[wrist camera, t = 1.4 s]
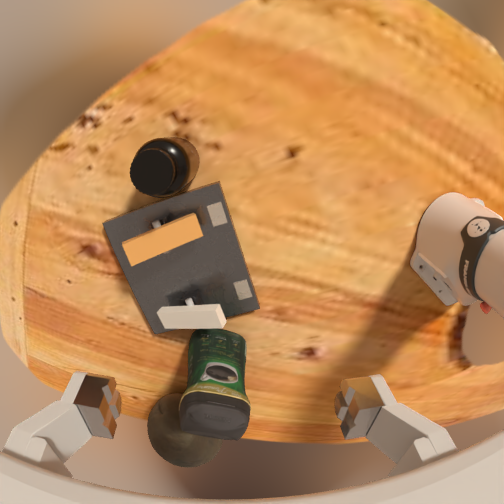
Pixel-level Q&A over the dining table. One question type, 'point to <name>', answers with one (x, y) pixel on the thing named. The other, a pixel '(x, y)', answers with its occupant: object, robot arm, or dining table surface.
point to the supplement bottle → (164, 166)
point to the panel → (187, 257)
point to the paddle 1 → (162, 238)
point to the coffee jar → (215, 386)
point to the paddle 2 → (192, 316)
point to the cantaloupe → (178, 436)
